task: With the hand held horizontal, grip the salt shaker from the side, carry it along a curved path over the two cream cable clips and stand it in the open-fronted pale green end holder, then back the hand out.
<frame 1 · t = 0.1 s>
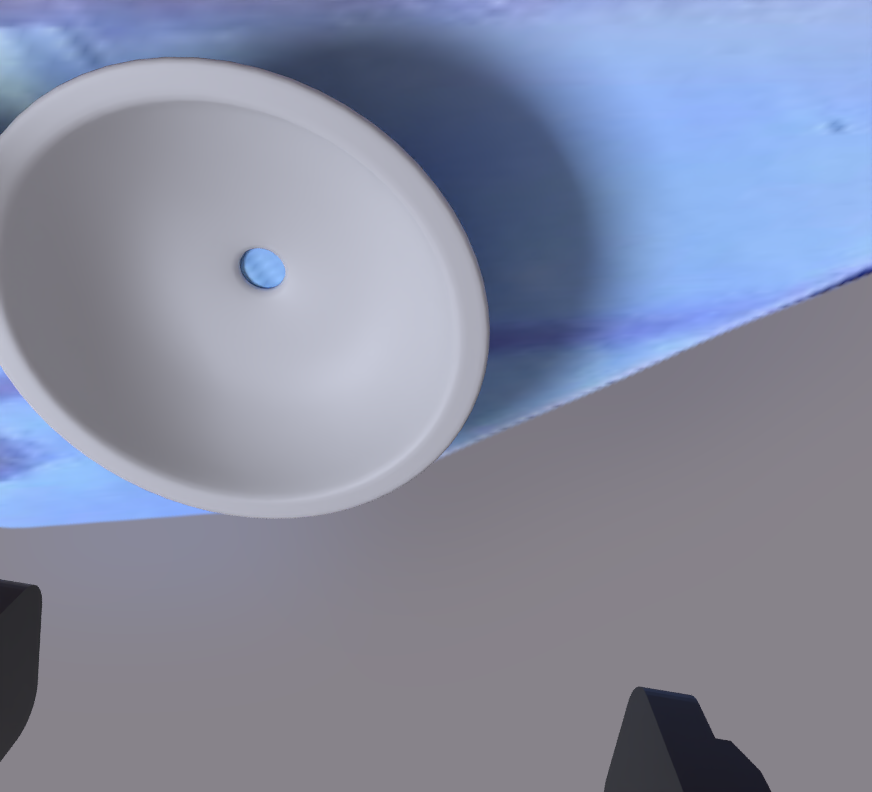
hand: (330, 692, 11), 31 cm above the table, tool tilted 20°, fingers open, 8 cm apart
soup bowl: (264, 265, 43), on the table
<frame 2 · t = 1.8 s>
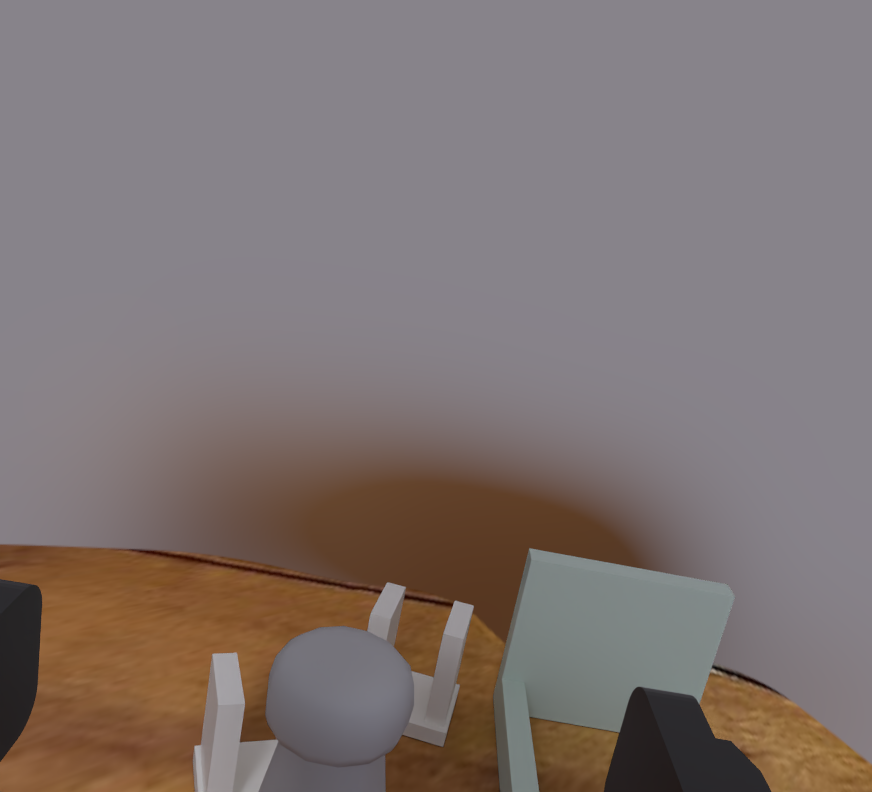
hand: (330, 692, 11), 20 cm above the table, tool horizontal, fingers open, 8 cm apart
clip a: (255, 789, 35), on the table
holder: (603, 783, 39), on the table
clip b: (403, 707, 42), on the table
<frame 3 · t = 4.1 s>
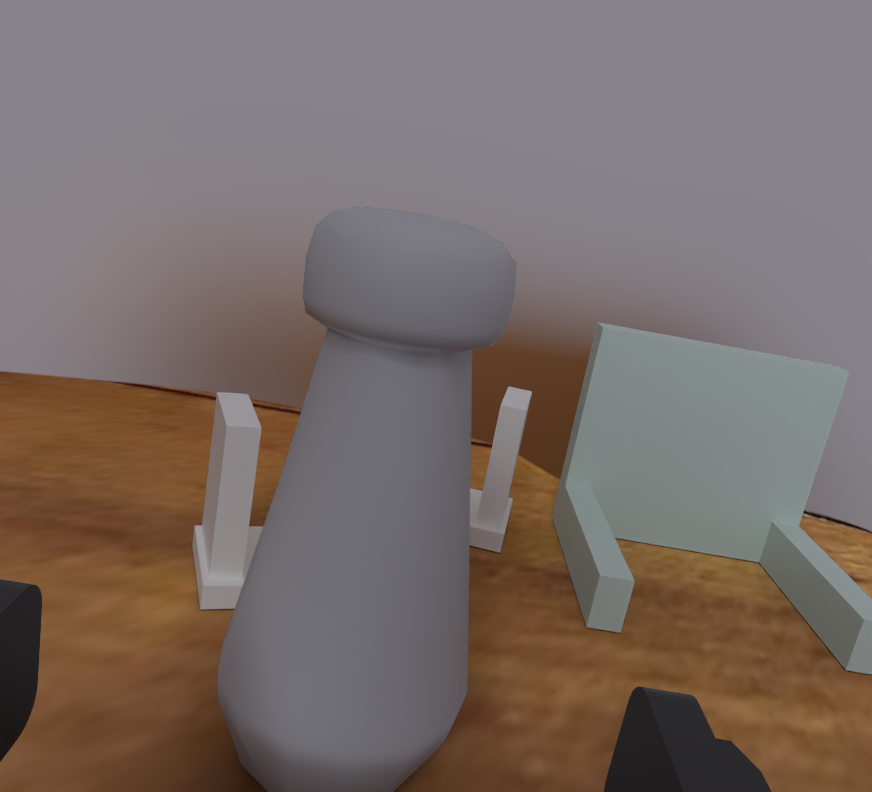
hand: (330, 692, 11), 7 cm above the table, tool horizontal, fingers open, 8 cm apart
clip a: (273, 575, 27), on the table
holder: (698, 593, 32), on the table
salt shaker: (328, 761, 20), on the table
clip b: (447, 518, 34), on the table
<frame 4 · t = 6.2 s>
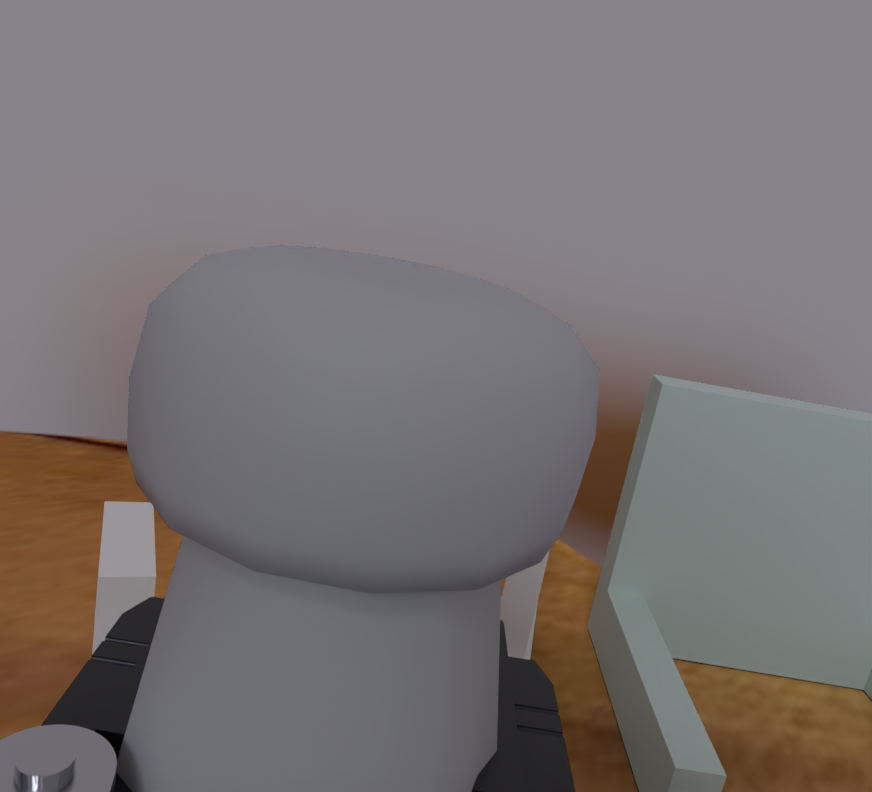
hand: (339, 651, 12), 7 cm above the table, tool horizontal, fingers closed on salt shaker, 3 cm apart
clip a: (192, 765, 19), on the table
holder: (797, 754, 23), on the table
clip b: (449, 637, 26), on the table
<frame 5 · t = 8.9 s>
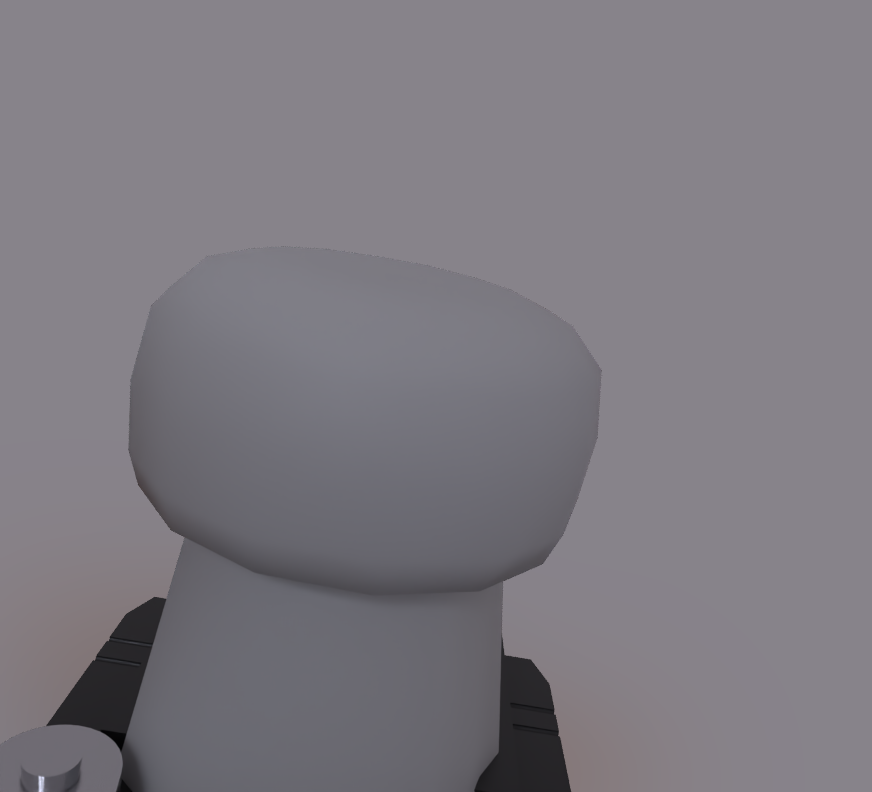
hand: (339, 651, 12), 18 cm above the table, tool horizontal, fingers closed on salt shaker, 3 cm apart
when the fingers open (8 cm above the table, at t = 11.6 s): salt shaker drops 1 cm, on the table.
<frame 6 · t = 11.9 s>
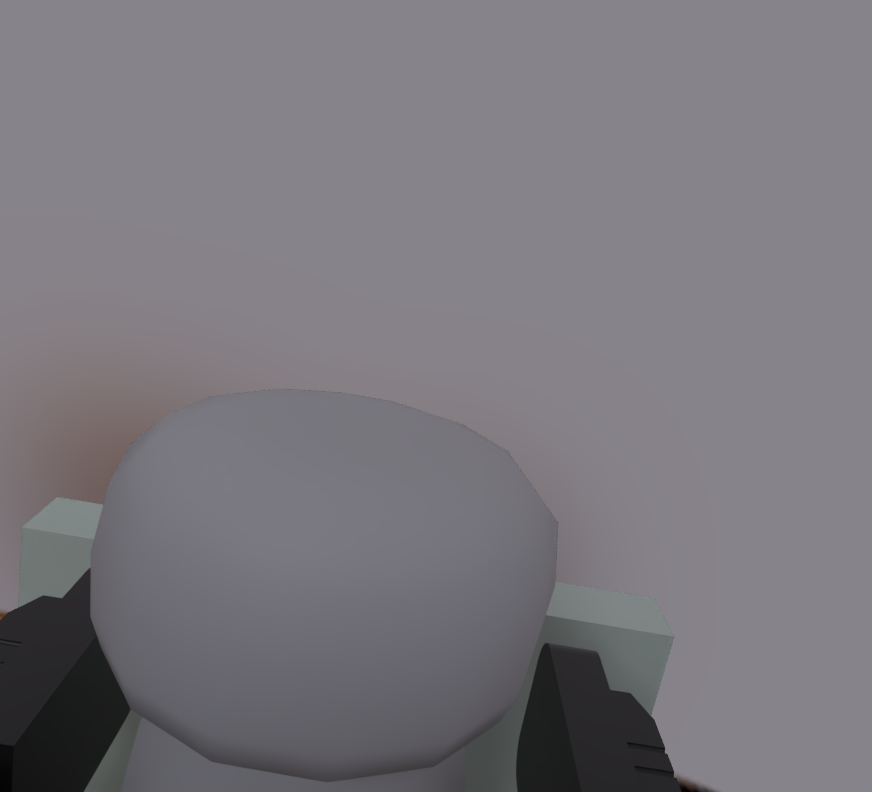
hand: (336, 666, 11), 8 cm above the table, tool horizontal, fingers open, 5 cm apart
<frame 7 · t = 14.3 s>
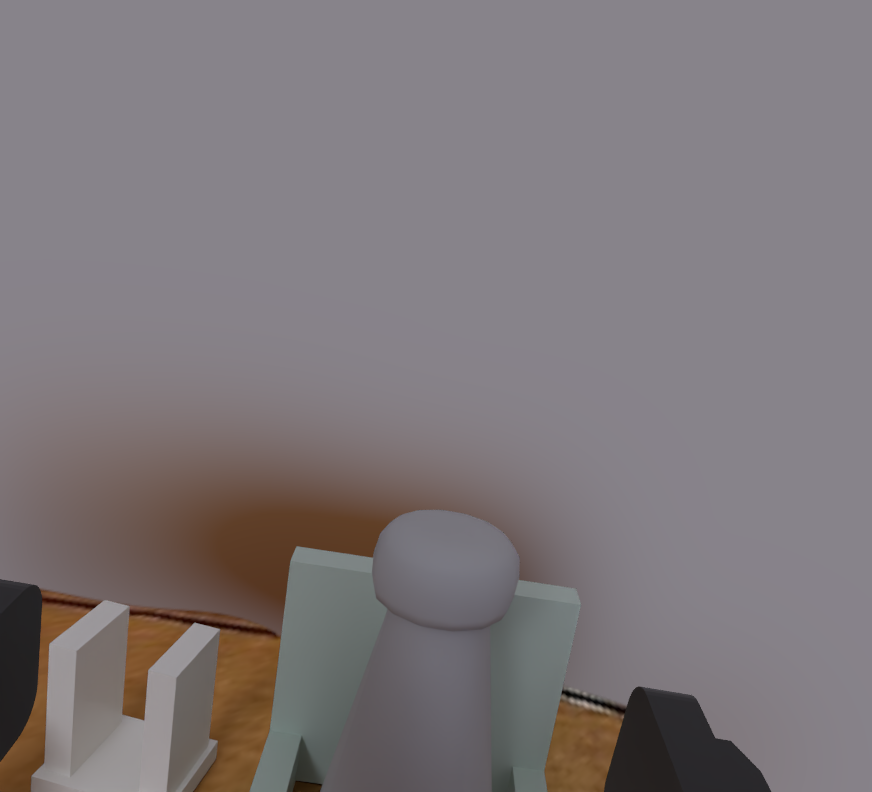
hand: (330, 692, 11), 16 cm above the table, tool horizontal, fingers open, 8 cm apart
clip b: (128, 776, 30), on the table
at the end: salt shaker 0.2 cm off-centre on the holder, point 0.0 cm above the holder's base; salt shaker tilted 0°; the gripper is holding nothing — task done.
